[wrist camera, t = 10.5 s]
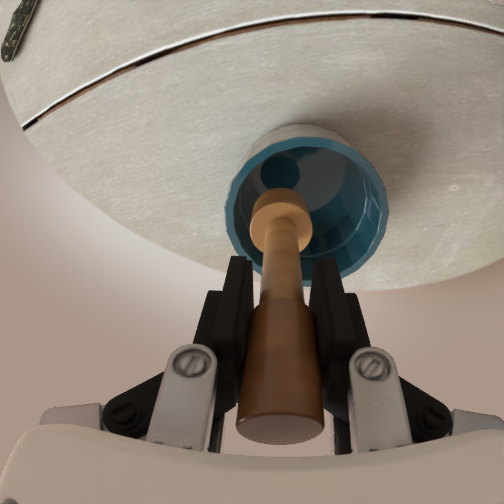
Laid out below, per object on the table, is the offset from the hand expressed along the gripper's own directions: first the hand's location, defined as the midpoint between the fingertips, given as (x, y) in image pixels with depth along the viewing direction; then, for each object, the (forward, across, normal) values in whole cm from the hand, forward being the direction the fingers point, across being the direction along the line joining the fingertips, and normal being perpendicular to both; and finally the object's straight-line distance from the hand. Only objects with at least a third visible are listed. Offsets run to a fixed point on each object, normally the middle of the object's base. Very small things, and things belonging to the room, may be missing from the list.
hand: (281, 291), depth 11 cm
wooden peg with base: (+7, 0, 0) cm, 7 cm away
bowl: (+11, -2, 0) cm, 11 cm away
